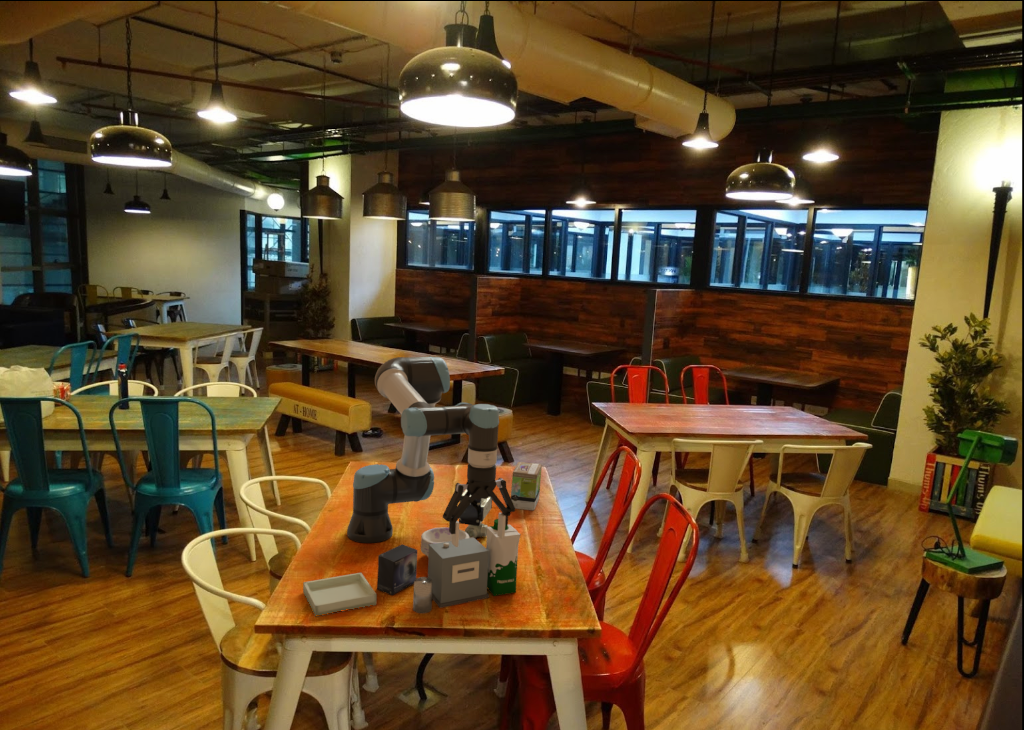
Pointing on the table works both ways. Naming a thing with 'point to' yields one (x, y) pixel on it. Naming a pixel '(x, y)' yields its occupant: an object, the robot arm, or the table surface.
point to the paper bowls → (438, 537)
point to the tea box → (526, 485)
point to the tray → (339, 593)
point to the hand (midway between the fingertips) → (478, 541)
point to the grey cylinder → (422, 595)
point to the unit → (458, 572)
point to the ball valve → (476, 516)
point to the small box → (396, 569)
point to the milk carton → (502, 560)
